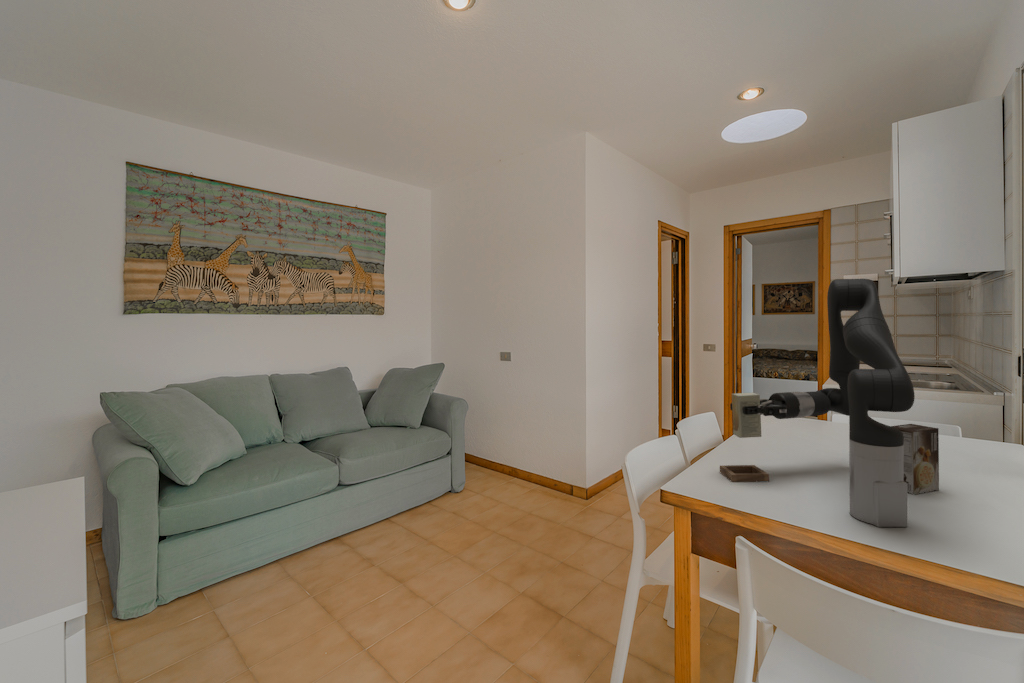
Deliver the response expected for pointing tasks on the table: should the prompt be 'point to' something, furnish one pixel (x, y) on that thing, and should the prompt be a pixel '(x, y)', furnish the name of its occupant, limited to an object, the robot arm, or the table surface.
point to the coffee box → (920, 457)
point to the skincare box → (745, 423)
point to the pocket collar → (744, 473)
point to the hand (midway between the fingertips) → (737, 408)
